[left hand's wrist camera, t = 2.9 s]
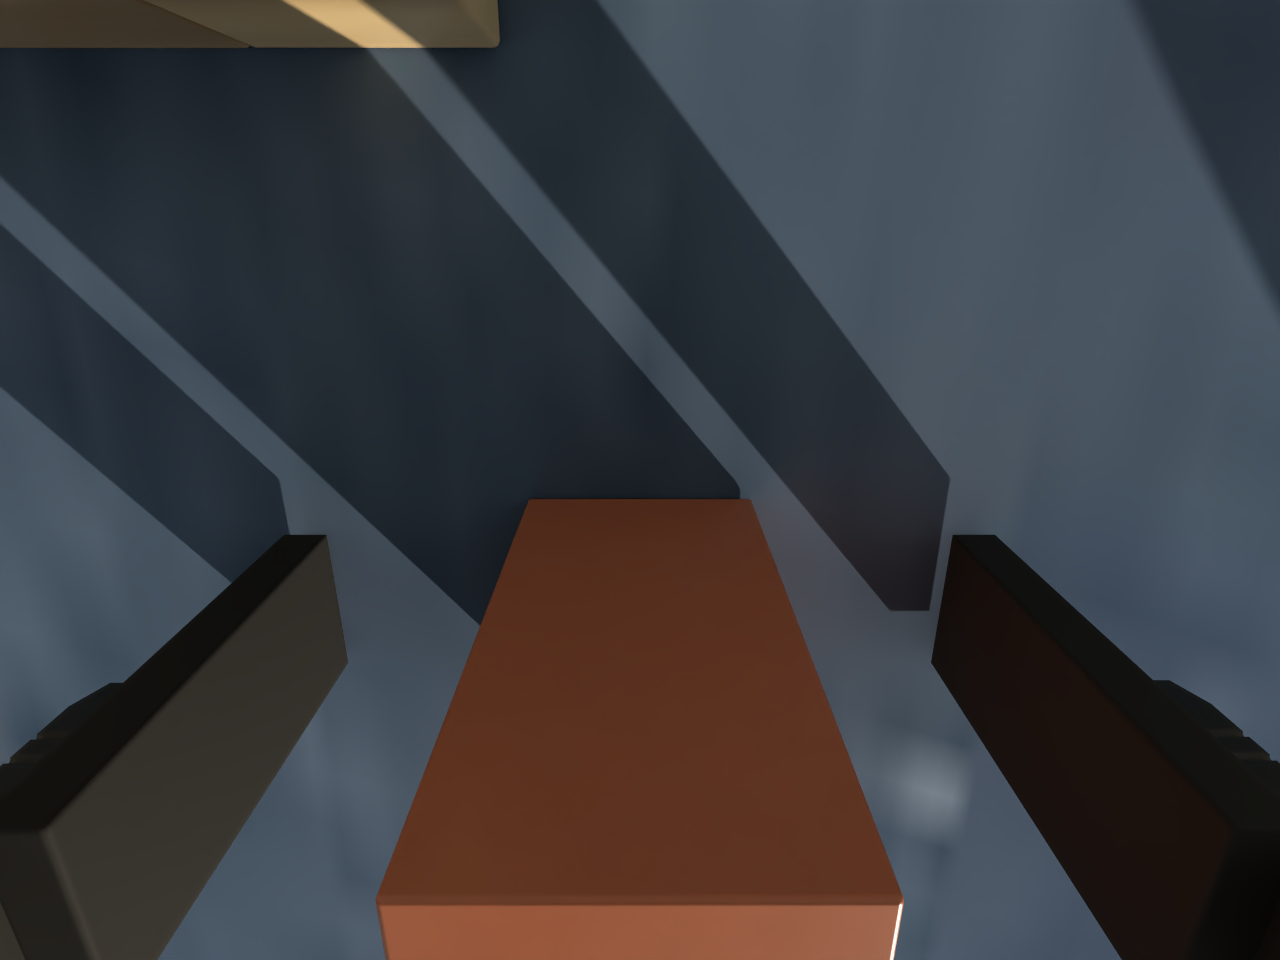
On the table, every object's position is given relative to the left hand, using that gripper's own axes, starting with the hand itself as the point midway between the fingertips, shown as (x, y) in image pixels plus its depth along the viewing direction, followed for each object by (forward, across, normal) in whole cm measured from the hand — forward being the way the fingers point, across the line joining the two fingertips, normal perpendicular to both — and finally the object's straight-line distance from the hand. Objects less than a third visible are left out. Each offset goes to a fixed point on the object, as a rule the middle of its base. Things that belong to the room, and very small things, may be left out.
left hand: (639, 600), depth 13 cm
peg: (0, 0, 0) cm, 0 cm away
